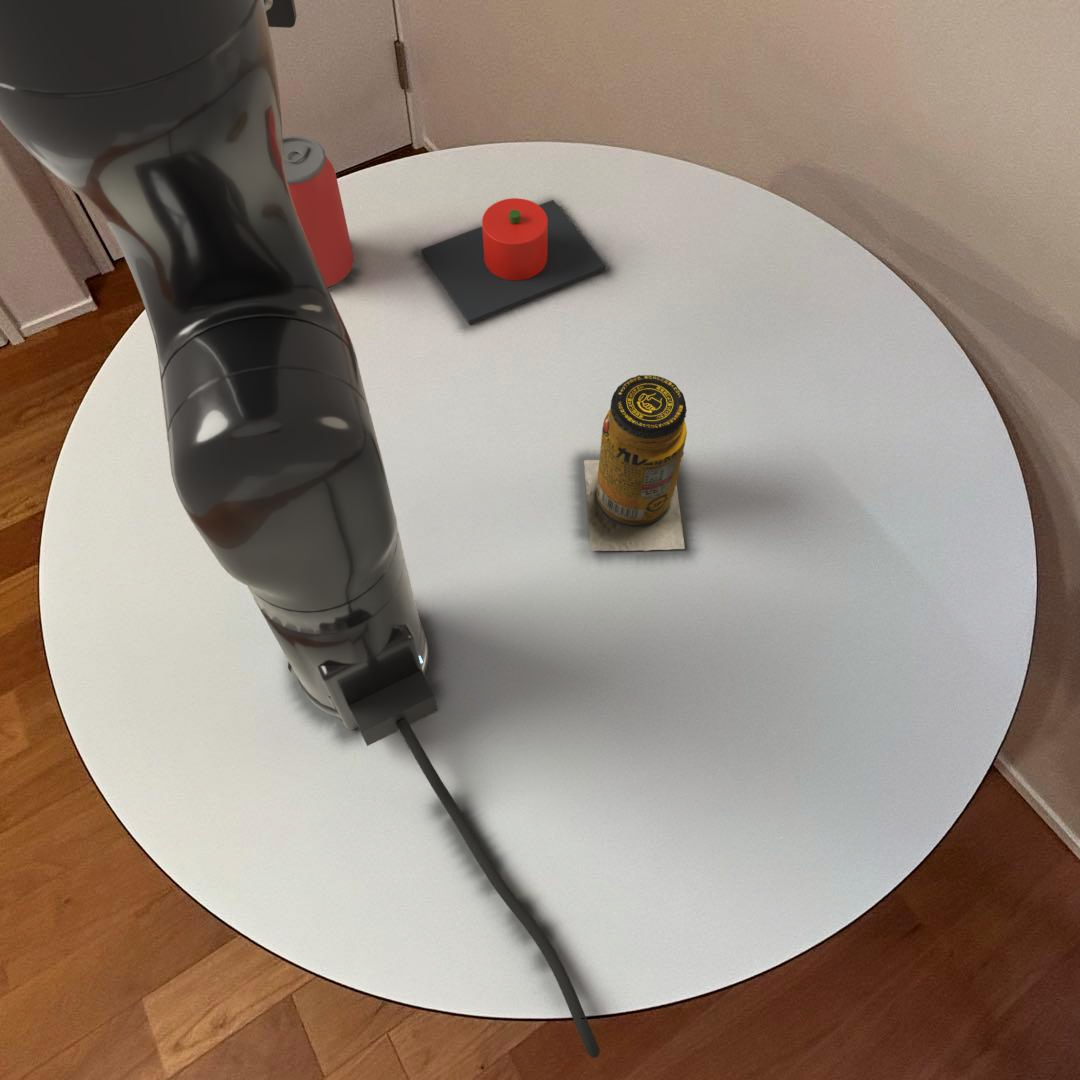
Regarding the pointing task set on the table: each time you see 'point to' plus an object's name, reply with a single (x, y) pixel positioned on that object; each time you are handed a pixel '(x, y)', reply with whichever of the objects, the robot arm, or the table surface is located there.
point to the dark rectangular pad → (491, 294)
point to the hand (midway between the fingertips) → (270, 63)
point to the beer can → (318, 206)
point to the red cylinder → (515, 239)
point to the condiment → (638, 469)
